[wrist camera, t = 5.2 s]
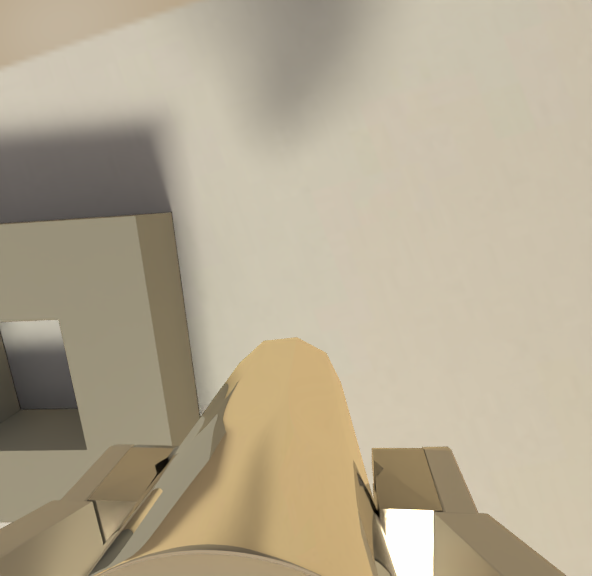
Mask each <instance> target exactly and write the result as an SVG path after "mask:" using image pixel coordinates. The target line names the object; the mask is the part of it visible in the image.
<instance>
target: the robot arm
mask: <svg viewBox="0 0 592 576" xmlns="http://www.w3.org/2000/svg"><path fill="white" fill-rule="evenodd" d="M178 448H179V446H169V445H139V444H137V445H134V444H116V445H113V446H110V447H109V448H108V449H107V450H106V451H105V452H104V453H103V454H102V455H101V457H100V458H99V459H98V460H97V461H96V462H95V463H94V464H93V465H92V466H91V467H90V469H89V470H88V471H87V472H86V473H85V474H84V475H83V476H82V477H81V478H80V479H79V480H78V482H77V483H76V484H75V485H74V486H73V487H72V488H71V489H70V490H69V491H68V492H67V493H66V495H65V496H64V497H63V498H62V499H61V500H52V501H51V502H49V503H47V504H45V505H43V506H42V507H40V508H38V509H36V510H34V511H32V512H31V513H29V514H27V515H25V516H23V517H21V518H20V519H18V520H16V521H14V522H12V523H10V524H9V525H7V526H5V527H3V528H1V529H0V576H80V575H81V574H82V572H83V571H84V570H85V568H86V567H87V566H88V565H89V563H90V562H91V561H92V559H93V558H94V557H95V556H96V554H97V553H98V552H99V550H100V549H101V548H102V547H103V545H104V544H105V543H106V541H107V540H108V539H109V538H110V536H111V535H112V534H113V532H114V531H115V530H116V528H117V527H118V526H119V525H120V523H121V522H122V521H123V519H124V518H125V517H126V516H127V514H128V513H129V512H130V510H131V509H132V508H133V507H134V505H135V504H136V503H137V501H138V500H139V499H140V498H141V496H142V495H143V494H144V492H145V491H146V490H147V489H148V487H149V486H150V485H151V483H152V482H153V481H154V480H155V478H156V477H157V476H158V474H159V473H160V472H161V471H162V469H163V468H164V467H165V465H166V464H167V463H168V462H169V460H170V459H171V458H172V456H173V455H174V453H175V452H176V451H177V449H178ZM372 471H373V481H374V483H373V499H374V502H375V505H376V509H377V511H378V515H379V518H380V521H381V524H382V527H383V530H384V533H385V536H386V539H387V542H388V546H389V549H390V552H391V555H392V558H393V561H394V564H395V567H396V571H397V574H398V576H566V575H565V574H564V573H563V572H561V571H560V570H559V569H557V568H556V567H555V566H554V565H552V564H551V563H550V562H549V561H547V560H546V559H545V558H543V557H542V556H541V555H540V554H538V553H537V552H536V551H534V550H533V549H532V548H531V547H529V546H528V545H527V544H526V543H524V542H523V541H522V540H520V539H519V538H518V537H517V536H515V535H514V534H513V533H512V532H510V531H509V530H508V529H506V528H505V527H504V526H503V525H501V524H500V523H499V522H498V521H496V520H495V519H494V518H492V517H491V516H490V515H489V514H484V513H478V511H477V508H476V506H475V504H474V501H473V499H472V497H471V494H470V492H469V490H468V487H467V485H466V483H465V480H464V478H463V476H462V473H461V471H460V469H459V466H458V464H457V462H456V459H455V457H454V455H453V453H452V450H451V449H450V448H449V447H422V448H372Z"/></svg>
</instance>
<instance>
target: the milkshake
mask: <svg viewBox="0 0 592 576" xmlns="http://www.w3.org/2000/svg"><path fill="white" fill-rule="evenodd" d="M80 576H398V574H397V571H396V567H395V564H394V561H393V558H392V555H391V552H390V549H389V546H388V542H387V539H386V536H385V533H384V530H383V527H382V524H381V521H380V518H379V515H378V511H377V509H376V505H375V502H374V499H373V496H372V492H371V489H370V485H369V482H368V478H367V474H366V471H365V467H364V463H363V460H362V456H361V453H360V449H359V445H358V442H357V438H356V434H355V431H354V427H353V424H352V420H351V416H350V413H349V409H348V406H347V402H346V398H345V395H344V391H343V388H342V384H341V381H340V379H339V377H338V375H337V373H336V371H335V369H334V367H333V365H332V363H331V361H330V359H329V357H328V355H327V353H326V352H324V351H322V350H320V349H318V348H316V347H314V346H313V345H311V344H309V343H307V342H305V341H303V340H301V339H299V338H298V337H293V338H284V339H275V340H265V341H263V342H262V343H261V344H260V345H258V346H257V347H256V348H255V349H254V350H253V351H252V352H251V353H250V354H249V355H247V356H246V357H245V358H244V359H243V360H242V361H241V362H240V363H239V364H238V365H237V367H236V368H235V370H234V371H233V372H232V374H231V375H230V377H229V378H228V379H227V381H226V382H225V384H224V385H223V386H222V388H221V389H220V390H219V392H218V393H217V395H216V396H215V397H214V399H213V400H212V402H211V403H210V404H209V406H208V407H207V409H206V410H205V411H204V413H203V414H202V416H201V417H200V418H199V420H198V421H197V423H196V424H195V425H194V427H193V428H192V430H191V431H190V432H189V434H188V435H187V437H186V438H185V439H184V441H183V442H182V444H181V445H180V446H179V448H178V449H177V451H176V452H175V453H174V455H173V456H172V458H171V459H170V460H169V462H168V463H167V464H166V465H165V467H164V468H163V469H162V471H161V472H160V473H159V474H158V476H157V477H156V478H155V480H154V481H153V482H152V483H151V485H150V486H149V487H148V489H147V490H146V491H145V492H144V494H143V495H142V496H141V498H140V499H139V500H138V501H137V503H136V504H135V505H134V507H133V508H132V509H131V510H130V512H129V513H128V514H127V516H126V517H125V518H124V519H123V521H122V522H121V523H120V525H119V526H118V527H117V528H116V530H115V531H114V532H113V534H112V535H111V536H110V538H109V539H108V540H107V541H106V543H105V544H104V545H103V547H102V548H101V549H100V550H99V552H98V553H97V554H96V556H95V557H94V558H93V559H92V561H91V562H90V563H89V565H88V566H87V567H86V568H85V570H84V571H83V572H82V574H81V575H80Z"/></svg>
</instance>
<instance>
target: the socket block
mask: <svg viewBox="0 0 592 576" xmlns="http://www.w3.org/2000/svg"><path fill="white" fill-rule="evenodd" d="M37 320H59V324H60V329H61V334H62V338H63V343H64V347H65V352H66V356H67V361H68V365H69V370H70V374H71V379H72V383H73V388H74V392H75V397H76V402H77V406H78V409H32V410H20V407H19V403H18V399H17V395H16V391H15V387H14V384H13V380H12V376H11V372H10V368H9V364H8V361H7V357H6V353H5V349H4V345H3V341H2V337H1V334H0V522H14V521H16V520H18V519H20V518H21V517H23V516H25V515H27V514H29V513H31V512H32V511H34V510H36V509H38V508H40V507H42V506H43V505H45V504H47V503H49V502H51V501H52V500H61V499H62V498H63V497H64V496H65V495H66V493H67V492H68V491H69V490H70V489H71V488H72V487H73V486H74V485H75V484H76V483H77V482H78V480H79V479H80V478H81V477H82V476H83V475H84V474H85V473H86V472H87V471H88V470H89V469H90V467H91V466H92V465H93V464H94V463H95V462H96V461H97V460H98V459H99V458H100V457H101V455H102V454H103V453H104V452H105V451H106V450H107V449H108V448H109V447H110V446H113V445H116V444H134V445H137V444H139V445H169V446H180V445H181V444H182V442H183V441H184V439H185V438H186V437H187V435H188V434H189V432H190V431H191V430H192V428H193V427H194V425H195V424H196V423H197V421H198V420H199V418H200V415H199V408H198V401H197V393H196V386H195V379H194V372H193V364H192V357H191V350H190V343H189V335H188V328H187V321H186V314H185V306H184V299H183V292H182V285H181V277H180V270H179V263H178V256H177V248H176V241H175V234H174V227H173V219H172V212H170V213H155V214H139V215H124V216H109V217H93V218H78V219H62V220H47V221H32V222H16V223H1V224H0V322H13V321H37Z"/></svg>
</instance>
